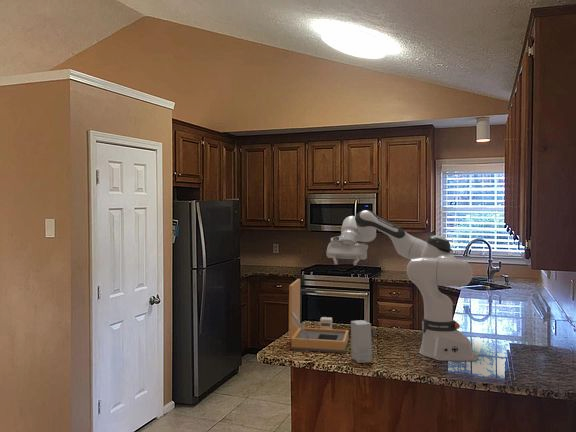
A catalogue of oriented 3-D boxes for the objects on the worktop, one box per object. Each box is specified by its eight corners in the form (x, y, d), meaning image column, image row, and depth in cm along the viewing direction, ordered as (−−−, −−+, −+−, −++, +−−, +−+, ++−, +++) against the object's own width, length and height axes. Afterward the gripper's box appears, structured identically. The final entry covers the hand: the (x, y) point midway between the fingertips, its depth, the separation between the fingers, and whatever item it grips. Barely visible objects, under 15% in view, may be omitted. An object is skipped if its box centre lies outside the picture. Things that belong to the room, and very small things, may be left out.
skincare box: (372, 362, 197) (372, 324, 197) (357, 363, 196) (357, 324, 196) (364, 356, 205) (364, 319, 205) (349, 357, 204) (350, 319, 204)
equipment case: (348, 340, 230) (349, 280, 229) (344, 352, 210) (345, 287, 209) (297, 337, 234) (297, 278, 233) (288, 349, 214) (289, 285, 214)
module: (332, 333, 241) (332, 317, 241) (330, 336, 236) (331, 319, 236) (321, 332, 242) (321, 317, 242) (319, 335, 237) (320, 319, 237)
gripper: (368, 247, 263) (366, 269, 254) (329, 245, 268) (325, 267, 259) (368, 239, 259) (366, 261, 249) (327, 237, 263) (324, 259, 254)
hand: (345, 264), depth 254 cm, fingers open, 8 cm apart
